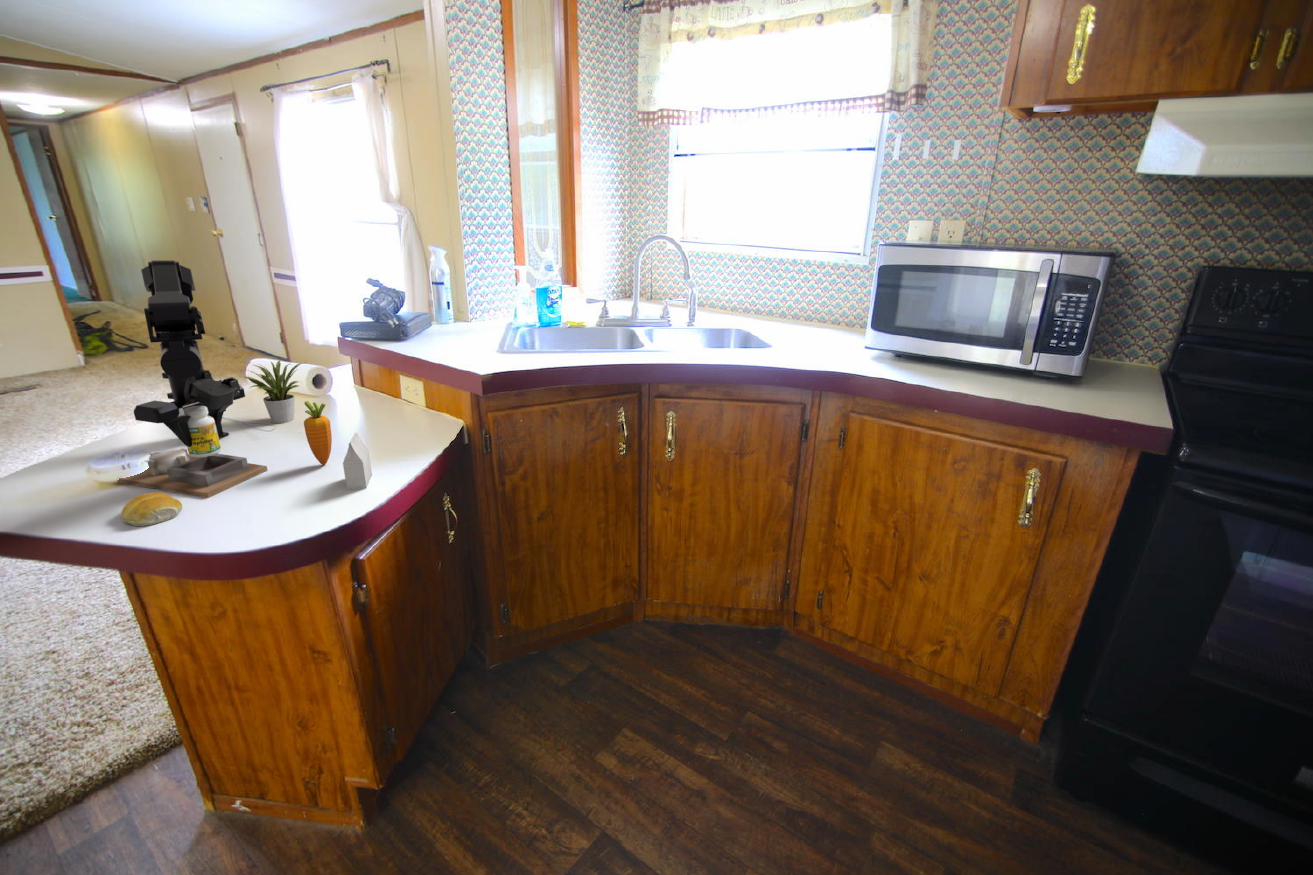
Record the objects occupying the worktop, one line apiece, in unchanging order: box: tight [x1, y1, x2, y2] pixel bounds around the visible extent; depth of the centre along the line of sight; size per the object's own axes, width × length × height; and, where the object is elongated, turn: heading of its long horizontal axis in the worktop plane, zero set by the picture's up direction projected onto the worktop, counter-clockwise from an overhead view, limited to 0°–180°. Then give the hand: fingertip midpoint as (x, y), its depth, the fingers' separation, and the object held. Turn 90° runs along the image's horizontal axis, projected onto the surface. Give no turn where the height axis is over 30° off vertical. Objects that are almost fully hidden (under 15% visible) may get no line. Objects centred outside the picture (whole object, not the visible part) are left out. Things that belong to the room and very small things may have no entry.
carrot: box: [303, 400, 333, 466], centre depth 129 cm, size 5×5×15 cm
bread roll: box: [120, 491, 183, 527], centre depth 107 cm, size 8×9×4 cm
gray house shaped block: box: [342, 432, 373, 490], centre depth 123 cm, size 4×7×10 cm, turn 16°
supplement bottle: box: [183, 406, 222, 457], centre depth 119 cm, size 5×5×10 cm
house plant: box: [242, 359, 307, 424], centre depth 156 cm, size 14×14×16 cm
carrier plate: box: [117, 448, 268, 499], centre depth 123 cm, size 22×14×4 cm, turn 77°
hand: (202, 441), depth 120 cm, fingers closed on supplement bottle, 5 cm apart
